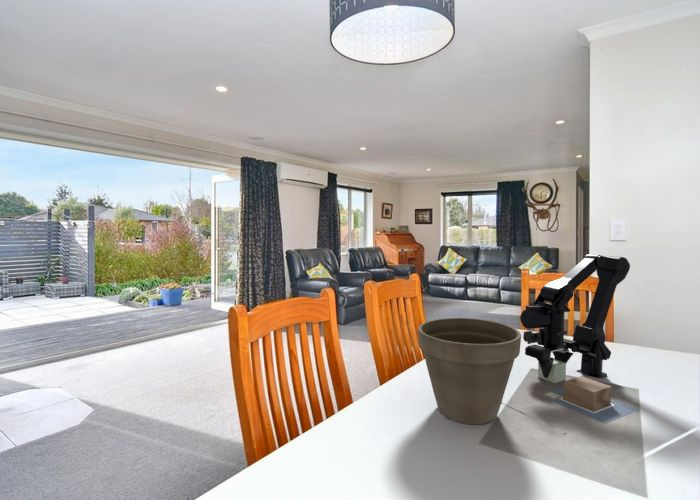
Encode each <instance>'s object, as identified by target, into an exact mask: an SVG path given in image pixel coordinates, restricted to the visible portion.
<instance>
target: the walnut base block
mask: <svg viewBox="0 0 700 500" xmlns="http://www.w3.org/2000/svg"><path fill="white" fill-rule="evenodd" d="M563 387H564V391H563V399H564V400H566V401H569V402H571V403H573V404H576V405H578V406H581V407H583V408H586V409H588V410H591V411H595V410H598V409H601V408H603V407H606V406H609V405H611V400H612V386H611V385H608V384H605V383H603V382H600V381H596V380H593V379H591V378H588V377H584V376H577V377H574V378H571V379H567V380H563Z"/></svg>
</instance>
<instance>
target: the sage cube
mask: <svg viewBox="0 0 700 500" xmlns="http://www.w3.org/2000/svg"><path fill="white" fill-rule="evenodd" d="M537 362H538V361H537ZM537 365H538V366H537V367H538V368H537V378H540V379H542V380H544V381H546V382H550V383H552V384H556V383H560V382H564V381H566V379H567V377H566V375H567V363H565V362H561V361H558V360H555V358H554V361H553V364H552V367H551V370H550V373H549V376H548V378H545V377H544V376H543V373H542V370H541V367H540V364H539V362H538V363H537Z"/></svg>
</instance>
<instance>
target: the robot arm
mask: <svg viewBox="0 0 700 500" xmlns="http://www.w3.org/2000/svg"><path fill="white" fill-rule="evenodd" d="M630 268H631V264H630V262H629V261H628V259H627V258H626V257H624V256H615V255H614V256H613V255H601V254H592V253H590V254H589V253H588V254H586V255H584V257H583V259H582V260H581V261H579V263H577V264H576V265H575V266H573V267H572V269H570V270H569V271H568V272H567V273H565V274H564V275H563V276H562V277H561V278H559V279H555V280H553V281H550V282H548V283H547V284H545V285H544V286H543V287H542V288H541V290H540V292H539V294H538V295H537V297H536V299H535V301H534V302H533V303H532V306H531V305H525V310H523V311H522V312H521V314H520V322H521V325H522V326H523V328H525V329H527V331H523V336H522V338H523V341H524V342H526V343H527V344H528V345H527V346H526V347H525V348H524V355H526V356H527V357H528V356H529V357H531V358H534V359H536V360H537V362H539V364H540V367H541V370H542V373H543V376H544V377H545V378H548V376H549V373H550V370H551V367H552V364H553V361H554V359H555V360H558V361H561V362H565V363H566V364H567V363H568V362H569V360H570V359H571V357H572V356H573V355H574V353H578V354H581V362H580V365H581V366H580V369H577V370H576V372H578V373H580V374H583V375H586V376H589V377H592V378H594V379H600V378H603V377H607V376H608V373H607V372H604V371H603V364H604V363H603V362H604V361H607V360H609V359H610V358H611V354H612V351H611V350H610V349H609V348H608V346H607V345H606V344H605V343H606V338H607V337H606V334H605V331H604V325H605V322H606V320H607V316H608V313H609V311H610V307H611V305H612V302H613V299H614V298H613V297H614V295H615V291H616V288H617V286H618V285H619V284H620V283H621V282H623V281H624V280H625V279H626V278H627V276H628V273H629V271H630ZM594 272H596V274H597V278H598V283H597V286H596V288H595V292H594V296H593V297H592V301H591V303H590V307H589V311H588V313H587V316H586V320H585V322H584V323H582V324H581V325H580V324H576V326H575V328H574V332H573V334H572V339H567V338H564V336H565V335H567V334H568V330H566V329H565V313H570V312H571V309H570V308H569V306H567V304H568V303H569V302H570V300H572V298H573V297H574V291H575V290H576V289H577V288H578V287H579V286H580V285H582V284H583V283H584V282H585V281H586V280H587V279H588V278H589V277H591V276H592V274H594ZM532 329H533V330H534V329H538V332H537V331H536V332H533V331H532ZM535 343H536V344H535ZM570 350H571V351H572V352H571V351H570ZM551 354H553V356H554V357H551V356H552V355H551Z"/></svg>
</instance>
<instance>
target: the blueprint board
mask: <svg viewBox="0 0 700 500" xmlns="http://www.w3.org/2000/svg"><path fill="white" fill-rule="evenodd" d="M563 391H564V386H563V387H560V388H557V389H553V390H550V391H547V392H544V393H543V392H542V393H541V394H538V396H540V397H541V398H544V399H547V400H549V401H552V402H554V403H556V404H559V405H560V406H563V407H566V408H567V409H571V410H573V411H576V412H577V413H580V414H582V415H585V416H587V417H588V418H592V419H594V420H596V421H599V422H601V423H604V424H608V423H610V422H613V421H616V420H618V419H621V418H622V417H625V416H627V415H629V414H632V413H634V412H636V411H639V409H638V408H635V407H632V406H630V405H627V404H625V403H622V402H618V401H616V400H614V399H611V405H609V406H606V407H603V408H601V409H598V410H595V411H591V410H588V409H586V408H583V407H581V406H578V405H576V404H573V403H571V402H569V401H566V400H564V399H563Z"/></svg>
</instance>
